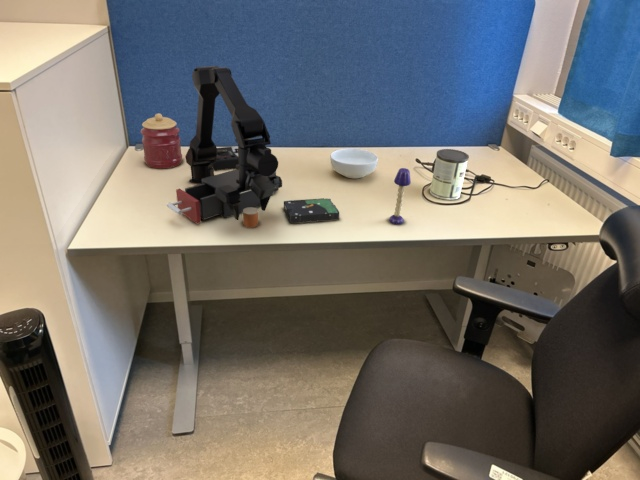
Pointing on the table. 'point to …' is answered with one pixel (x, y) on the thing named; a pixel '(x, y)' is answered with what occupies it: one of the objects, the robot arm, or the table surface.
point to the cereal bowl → (353, 162)
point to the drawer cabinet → (230, 178)
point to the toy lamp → (400, 194)
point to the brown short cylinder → (250, 217)
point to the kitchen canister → (161, 142)
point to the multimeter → (226, 158)
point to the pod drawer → (197, 202)
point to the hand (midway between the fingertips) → (250, 215)
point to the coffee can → (448, 174)
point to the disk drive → (310, 210)
